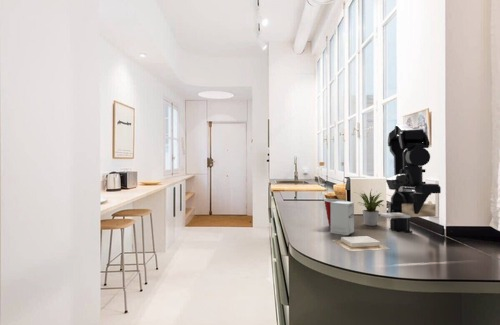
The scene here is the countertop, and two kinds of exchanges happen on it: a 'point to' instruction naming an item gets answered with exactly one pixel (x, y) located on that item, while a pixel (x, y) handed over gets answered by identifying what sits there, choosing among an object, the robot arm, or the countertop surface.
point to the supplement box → (342, 217)
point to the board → (360, 247)
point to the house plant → (371, 209)
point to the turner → (408, 211)
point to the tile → (360, 241)
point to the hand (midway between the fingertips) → (413, 213)
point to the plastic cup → (328, 208)
